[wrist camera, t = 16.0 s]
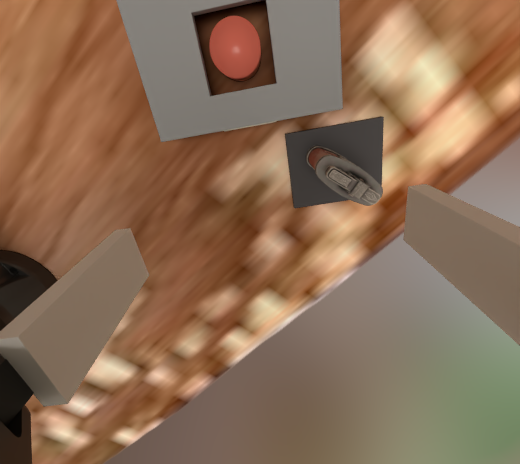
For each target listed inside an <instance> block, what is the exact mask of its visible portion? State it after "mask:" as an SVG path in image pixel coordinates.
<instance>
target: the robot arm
mask: <svg viewBox="0 0 520 464" xmlns="http://www.w3.org/2000/svg"><path fill="white" fill-rule="evenodd" d="M404 241H405V242H406V243H408V244H409V245H410V246H411V247H412V248H413V249H414V250H415V251H416V252H418V253H419V254H420V255H421V256H422V257H423V258H424V259H425V260H426V261H427V262H428V263H430V264H431V265H432V266H433V267H434V268H435V269H436V270H437V271H438V272H440V273H441V274H442V275H443V276H444V277H445V278H446V279H447V280H448V281H449V282H451V284H453V285H454V286H455V287H456V288H457V289H458V290H459V291H460V292H462V294H464V295H465V296H466V297H467V298H468V299H469V300H470V301H471V302H472V303H473V304H475V305H476V306H477V307H478V308H479V309H480V310H481V311H482V312H484V314H486V315H487V316H488V317H489V318H490V319H491V320H492V321H493V322H495V323H496V324H497V325H498V326H499V327H500V328H501V329H502V330H503V331H504V332H505V333H506V334H508V335H509V336H510V337H511V338H512V339H513V340H514V341H515V342H516V343H518V344H519V345H520V227H518V226H516V225H514V224H511V223H509V222H507V221H505V220H503V219H501V218H499V217H496V216H494V215H492V214H490V213H488V212H486V211H483V210H481V209H479V208H476V207H474V206H472V205H470V204H468V203H466V202H464V201H461V200H459V199H457V198H455V197H453V196H451V195H449V194H446V193H444V192H442V191H440V190H438V189H436V188H433V187H431V186H429V185H427V184H422V185H415V186H408V196H407V207H406V218H405V229H404ZM148 276H149V273H148V271H147V268H146V266H145V263H144V261H143V258H142V256H141V253H140V251H139V248H138V246H137V243H136V241H135V238H134V236H133V234H132V231H131V229H130V228H127V229H120V230H115V231H114V232H112V233H111V234H110V235H109V236H108V237H107V238H106V239H104V240H103V241H102V242H101V243H100V244H99V245H98V246H97V247H95V248H94V249H93V250H92V251H91V252H90V253H89V254H87V255H86V256H85V257H84V258H83V259H82V260H81V261H79V262H78V263H77V264H76V265H75V266H74V267H73V268H72V269H70V270H69V271H68V272H67V273H66V274H65V275H64V276H62V277H61V278H60V279H59V280H58V281H56V279H55V278H54V277H53V276H52V274H51V273H50V272H49V271H47V270H46V269H45V268H44V267H43V266H41V265H40V264H38V263H37V262H35V261H34V260H32V259H30V258H28V257H26V256H23V255H21V254H18V253H14V252H10V251H3V250H0V464H32V450H31V414H30V412H29V410H28V408H27V407H26V406H25V404H26V402H27V401H28V400H29V399H30V397H31V396H32V395H33V394H34V395H35V396H36V398H37V399H38V400H39V401H40V402H41V404H42V405H43V406H52V405H60V404H68V403H69V401H70V400H71V398H72V397H73V395H74V393H75V392H76V390H77V389H78V387H79V385H80V384H81V382H82V381H83V379H84V378H85V376H86V374H87V373H88V371H89V370H90V368H91V366H92V365H93V363H94V362H95V360H96V359H97V357H98V355H99V354H100V352H101V351H102V349H103V347H104V346H105V344H106V343H107V341H108V340H109V338H110V336H111V335H112V333H113V332H114V330H115V328H116V327H117V325H118V324H119V322H120V321H121V319H122V317H123V316H124V314H125V313H126V311H127V310H128V308H129V306H130V305H131V303H132V302H133V300H134V298H135V297H136V295H137V294H138V292H139V291H140V289H141V287H142V286H143V284H144V283H145V281H146V279H147V278H148Z"/></svg>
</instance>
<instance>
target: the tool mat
mask: <svg viewBox="0 0 520 464" xmlns="http://www.w3.org/2000/svg"><path fill="white" fill-rule="evenodd" d="M383 118H384V117H378V118H372V119H366V120H361V121H355V122H350V123H344V124H338V125H333V126H327V127H322V128H316V129H310V130H305V131H299V132H294V133H288V134H285V138H286V146H287V154H288V162H289V171H290V179H291V187H292V195H293V203H294V208H300V207H306V206H313V205H319V204H326V203H332V202H339V201H346V200H349V199H347V198H345V197H343V196H341V195H339V194H338V193H337V192H335V191H334V190H332V189H331V188H329V187H328V186H327V185H326V184H325V183H324V182H323V181H322V180H321V179H319V178H318V176H317V175H316V173H315V170H314V169H313V168H312V167H311V166H310V165H309V164H308V163H307V161H306V154H307V152H308V150H309V149H310V148H311V147H313V146H316V145H318V146H322V147H324V148H327V149H330V150H332V151H334V152H336V153H338V154H340V155H342V156H343V157H344V158H346V159H347V160H349V161H351V162H352V163H354V164H355V165H356V166H358V167H360V168H361V169H362V170H364V171H365V172H366V173H368V174H369V175H370V176H372V177H373V178H374V179H375V180H376V181H377V182H378V183H379V184H380V185H382V151H383Z"/></svg>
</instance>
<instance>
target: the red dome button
mask: <svg viewBox="0 0 520 464" xmlns="http://www.w3.org/2000/svg"><path fill="white" fill-rule="evenodd" d="M209 46H210V54H211V57H212V60H213V62H214V64H215V65H216V67H217V68H218V69H219V70H220V71H221V72H222V73H223V74H225V75H226V76H228V77H229V78H230V79H232V80H235V81H245V80H248V79H250V78H251V77H252V76H254V74H255V73H256V72H257V70H258V68H259V66H260V62H261V47H260V39H259V36H258V33H257V31H256V29H255V28H254V26H253V25H252V24H251V23H250V22H249V21H248V20H246V19H245V18H242V17H240V16H229V17H226V18H224V19H222V20H221V21H219V22H218V23H217V25H216V26H215V27H214V29H213V31H212V33H211V37H210V44H209Z"/></svg>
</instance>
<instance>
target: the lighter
mask: <svg viewBox="0 0 520 464" xmlns="http://www.w3.org/2000/svg"><path fill="white" fill-rule="evenodd" d="M306 161H307V163H308V164H309V165H310V166H311V167H312V168H313V169H314V170H315V173H316V175H317V176H318V178H319V179H321V180H322V181H323V182H324V183H325V184H326V185H327V186H328V187H329V188H331V189H332V190H334V191H335V192H337V193H338V194H339V195H341V196H343V197H345V198H347V199H349V200H351V201H354V202H357V203H360V204H363V205H367V206H370V205H373V204H376V203H377V202H378V201H379V200H380V198H381V196H382V193H383V189H382V187H381V185H380V184H379V183H378V182H377V181H376V180H375V179H374V178H373V177H372V176H370V175H369V174H368V173H366V172H365V171H364V170H362V169H361V168H360V167H358V166H356V165H355V164H354V163H352V162H351V161H349V160H347V159H346V158H344V157H343V156H342V155H340V154H338V153H336V152H334V151H332V150H330V149H327V148H324V147H322V146H318V145H316V146H313V147H311V148H310V149H309V150H308V152H307V154H306Z"/></svg>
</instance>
